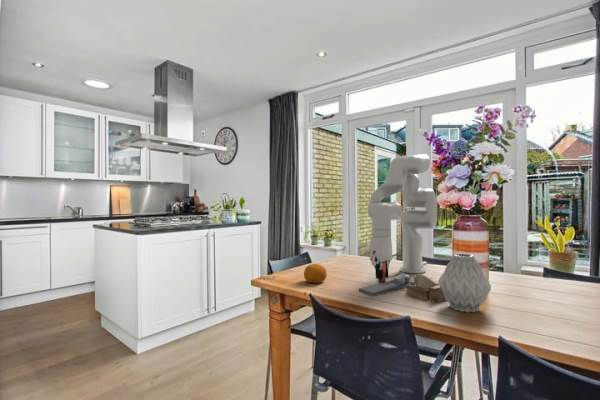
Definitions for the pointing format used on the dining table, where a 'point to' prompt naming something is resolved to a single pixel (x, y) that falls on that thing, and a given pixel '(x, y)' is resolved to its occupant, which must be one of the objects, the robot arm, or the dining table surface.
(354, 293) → the dining table surface
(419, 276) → the stone
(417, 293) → the cradle
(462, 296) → the vase
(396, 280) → the lever
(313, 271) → the fruit
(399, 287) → the flat grey bar
